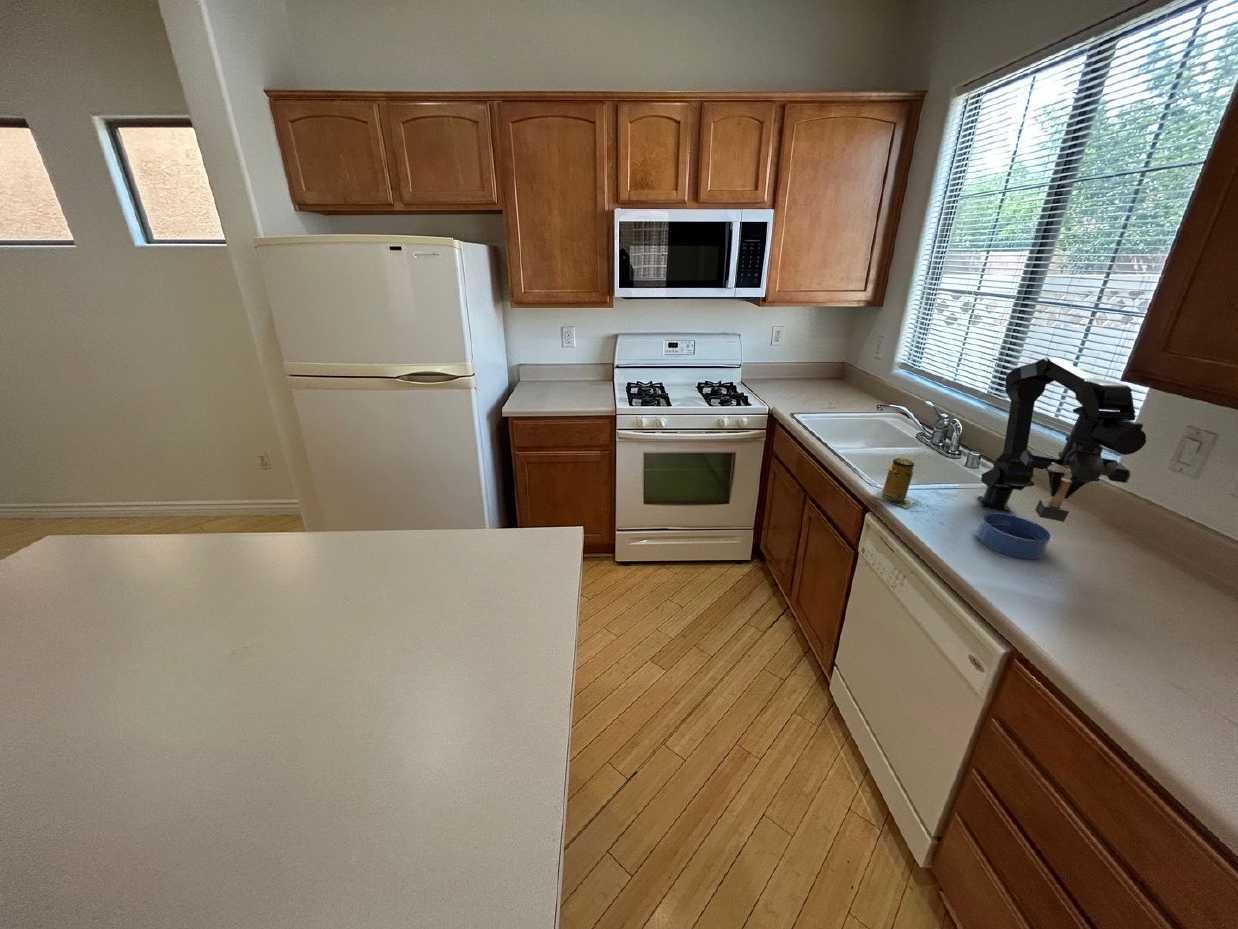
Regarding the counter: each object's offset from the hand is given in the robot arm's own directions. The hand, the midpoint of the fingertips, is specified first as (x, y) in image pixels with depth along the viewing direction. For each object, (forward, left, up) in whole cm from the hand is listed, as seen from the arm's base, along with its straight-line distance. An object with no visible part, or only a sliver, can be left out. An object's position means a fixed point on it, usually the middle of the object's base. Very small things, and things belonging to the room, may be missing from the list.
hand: (1058, 496), depth 116 cm
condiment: (-8, -32, -13) cm, 35 cm away
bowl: (+6, -8, -13) cm, 16 cm away
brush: (0, 0, -5) cm, 5 cm away
